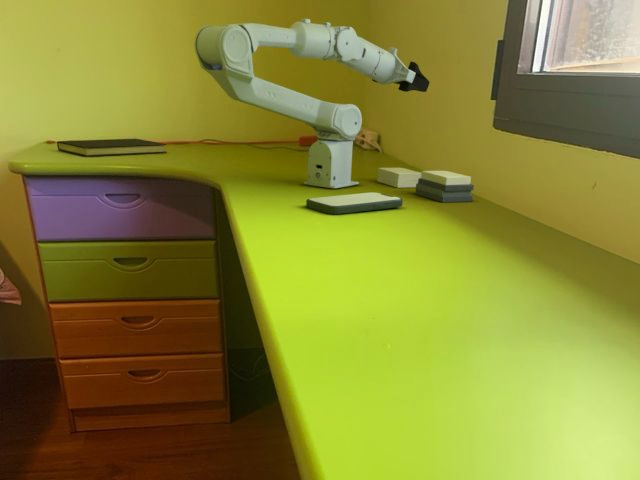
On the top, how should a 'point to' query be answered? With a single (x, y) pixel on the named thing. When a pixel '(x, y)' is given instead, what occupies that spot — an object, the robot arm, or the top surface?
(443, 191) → the grey book stack
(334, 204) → the phone case
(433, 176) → the cream booklet
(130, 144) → the hardcover book
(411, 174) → the cream rectangular block
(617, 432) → the top surface
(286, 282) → the top surface
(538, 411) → the top surface
